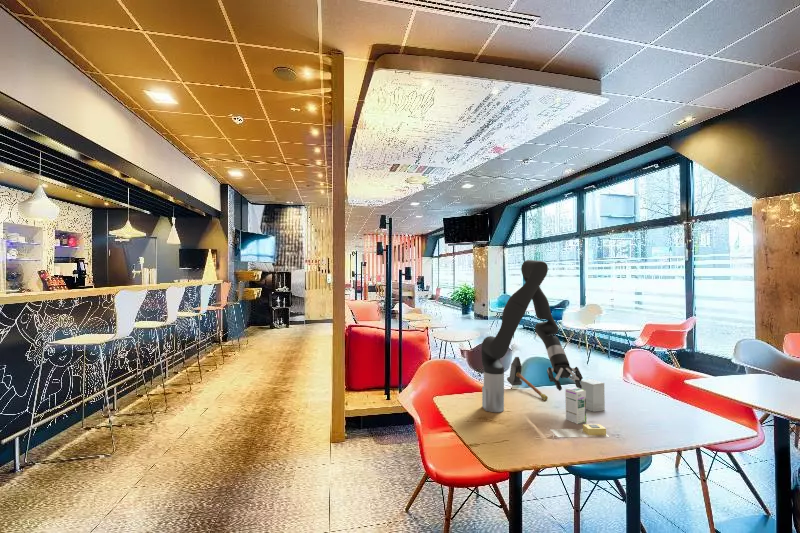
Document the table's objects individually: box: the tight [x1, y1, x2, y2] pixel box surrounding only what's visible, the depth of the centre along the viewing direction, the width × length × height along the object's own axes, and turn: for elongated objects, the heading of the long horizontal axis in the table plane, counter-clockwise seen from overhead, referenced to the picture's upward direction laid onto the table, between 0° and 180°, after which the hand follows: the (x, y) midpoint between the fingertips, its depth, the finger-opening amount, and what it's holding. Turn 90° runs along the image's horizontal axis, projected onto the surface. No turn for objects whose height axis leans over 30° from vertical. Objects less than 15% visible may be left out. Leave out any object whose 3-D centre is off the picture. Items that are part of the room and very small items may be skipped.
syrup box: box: [564, 386, 587, 425], centre depth 154 cm, size 6×6×14 cm
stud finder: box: [582, 423, 607, 435], centre depth 142 cm, size 7×4×3 cm, turn 92°
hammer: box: [506, 356, 548, 401], centre depth 196 cm, size 6×16×30 cm
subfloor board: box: [549, 428, 610, 438], centre depth 142 cm, size 20×14×1 cm
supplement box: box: [580, 378, 606, 413], centre depth 172 cm, size 7×7×13 cm
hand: (570, 389), depth 159 cm, fingers open, 8 cm apart
